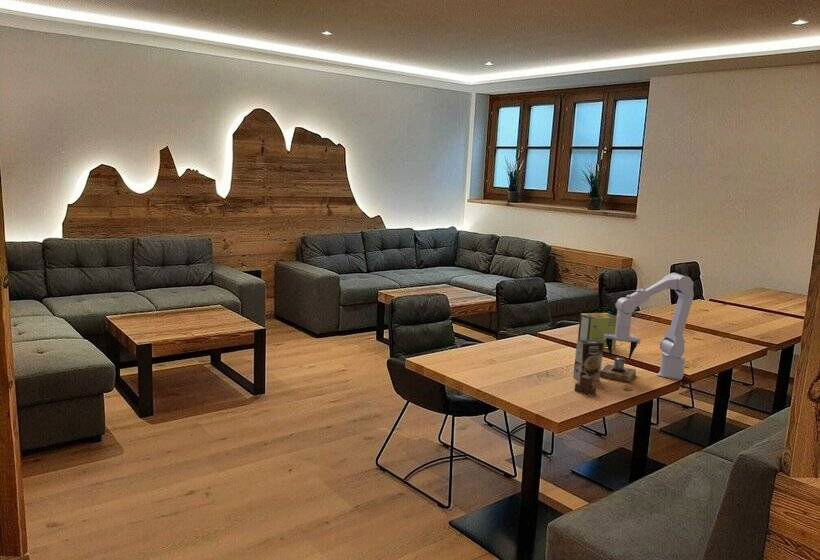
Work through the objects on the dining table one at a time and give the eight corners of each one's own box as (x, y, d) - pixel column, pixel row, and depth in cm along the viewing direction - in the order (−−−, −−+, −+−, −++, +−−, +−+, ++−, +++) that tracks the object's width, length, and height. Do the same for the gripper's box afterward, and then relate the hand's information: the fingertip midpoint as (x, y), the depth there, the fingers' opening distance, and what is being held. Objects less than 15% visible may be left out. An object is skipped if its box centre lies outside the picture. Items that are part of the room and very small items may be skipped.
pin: (623, 374, 271) (625, 358, 270) (622, 376, 268) (624, 360, 266) (613, 372, 273) (615, 356, 272) (612, 375, 269) (614, 359, 268)
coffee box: (580, 381, 261) (584, 343, 258) (572, 376, 267) (576, 339, 264) (600, 380, 263) (604, 343, 260) (592, 375, 269) (595, 338, 266)
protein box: (615, 348, 313) (619, 317, 310) (587, 349, 309) (590, 318, 306) (604, 342, 323) (607, 312, 320) (576, 343, 319) (579, 313, 316)
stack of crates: (612, 393, 251) (614, 376, 249) (594, 402, 240) (596, 385, 238) (577, 383, 261) (579, 367, 259) (559, 391, 250) (560, 375, 248)
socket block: (635, 375, 272) (635, 369, 272) (629, 382, 262) (629, 377, 262) (606, 369, 278) (607, 364, 278) (599, 376, 268) (600, 371, 268)
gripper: (641, 326, 267) (638, 357, 270) (605, 322, 272) (602, 352, 275) (641, 330, 261) (637, 362, 263) (604, 326, 266) (601, 357, 268)
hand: (619, 357), depth 269 cm, fingers open, 7 cm apart
